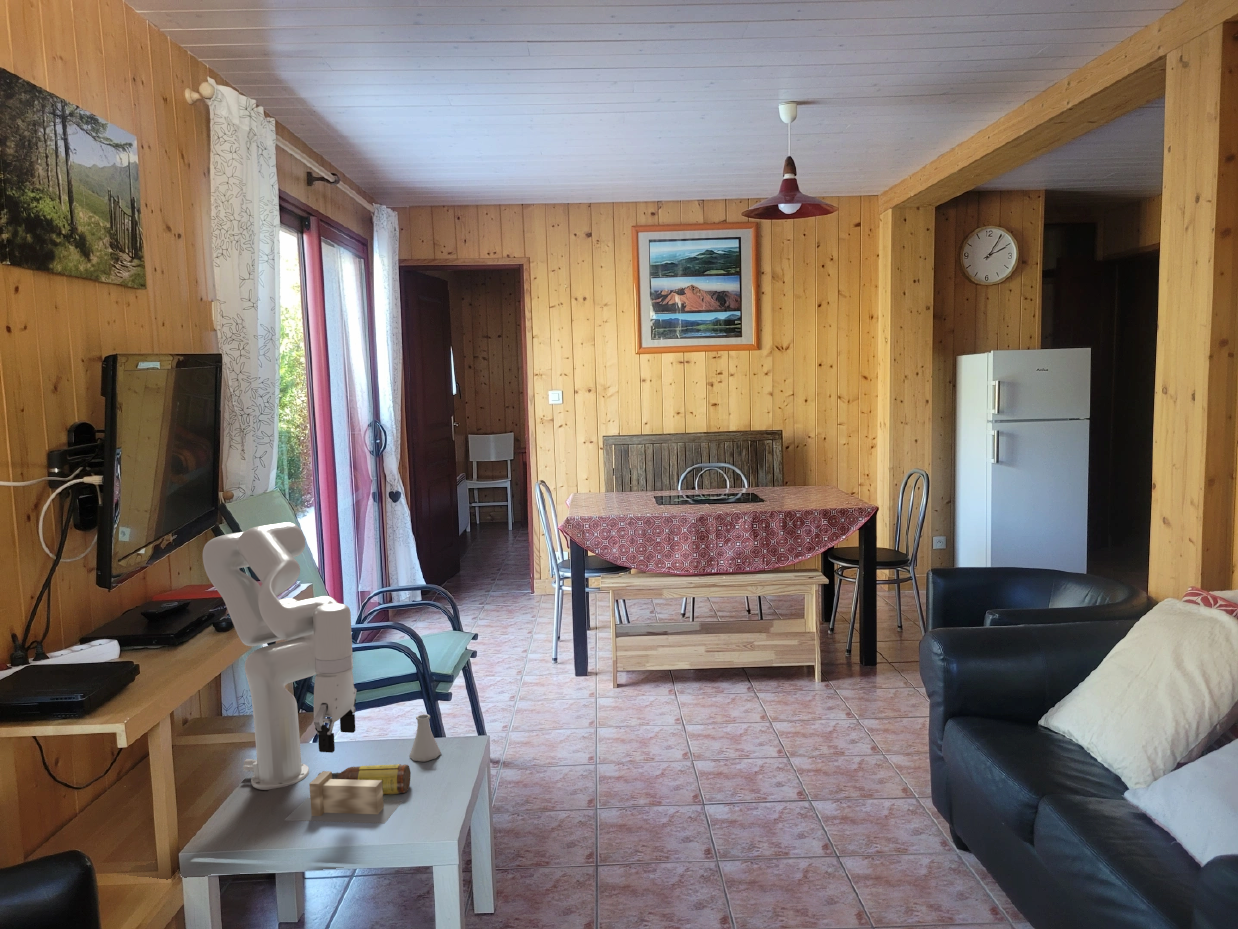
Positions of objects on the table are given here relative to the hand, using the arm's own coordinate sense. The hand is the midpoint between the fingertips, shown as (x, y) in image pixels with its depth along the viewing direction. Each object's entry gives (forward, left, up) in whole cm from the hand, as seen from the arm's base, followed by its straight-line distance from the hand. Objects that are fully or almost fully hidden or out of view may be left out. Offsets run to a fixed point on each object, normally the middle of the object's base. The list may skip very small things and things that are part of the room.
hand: (337, 741), depth 184 cm
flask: (+8, +29, -16) cm, 33 cm away
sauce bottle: (+11, +9, -12) cm, 19 cm away
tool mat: (+1, 0, -15) cm, 15 cm away
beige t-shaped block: (+2, 0, -15) cm, 15 cm away
